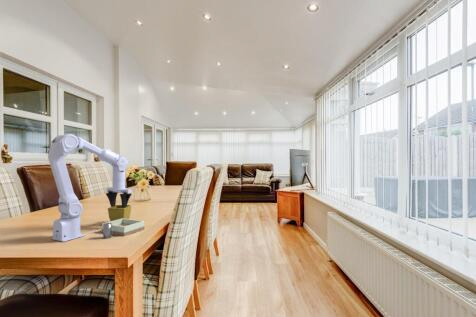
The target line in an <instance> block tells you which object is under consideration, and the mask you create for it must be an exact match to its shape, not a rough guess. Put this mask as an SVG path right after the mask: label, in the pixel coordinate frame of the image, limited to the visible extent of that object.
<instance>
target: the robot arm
mask: <svg viewBox="0 0 476 317" xmlns="http://www.w3.org/2000/svg"><path fill="white" fill-rule="evenodd" d="M50 144H51V145H50V147H49V150H48V153H47V154H48V155H47V159H48V162H49V164H50V165H49V166H50V168H51V172H52V175H53V178H54V182H55V185H56V188H57V192H58V195H59V198H58V207H57V209H58V212H59V213H60V217H59V218H57V219H56V220H54V221H53V224H52V237H51V240H54V241H57V242H62V243H63V242H68V241H70V240H75V239H79V238H81V237H85V236H86V235H85V234H83V233H81V214H82V213H83V210H84V207H83V204H82V203H81V202H80V201H79V198H78V197H77V195H76V194H75V192H74V187H73V185H72V182H71V178H70V175H69V174H70V173H69V170H68V167H67V163H66V160H65V158H66V156H67V155H68V154H69V153H70V152H72V151H74V150H75V149H81V150H85V151H87V152H89V153H91V154H94V155H96V156H97V158H98V159H99V160H101V161H103V162H105V163H107V164H110V165H111V167H112V187H107V188H106V192H105V195H106V197H107V199H108V202H109V204H110V205H109V206H110V207H114V206H115V205H117V204H116V203H117V197H118V193H119V196H120V199H121V205H122V208H126V207H127V205H128V204H129V200H130V198H131V197H132V196H133V194H132V189H131V188H126V167H127V166H128V164H129V161H128V159H127V158H126V156H123V155H119V153H118V152H114V151H112V150H111V148H109V147H108V148H105V147H103V148H100V147H98V146H96V145H94V144H92V143H91V142H89V141H87V140H85V139H83V138H82V137H80V136H76V135H74V134H71V133H68V134H60V135H56V136H55V137H54V138H53V139H52V140H51V142H50Z"/></svg>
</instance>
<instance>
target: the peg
mask: <svg viewBox="0 0 476 317" xmlns="http://www.w3.org/2000/svg"><path fill="white" fill-rule="evenodd" d="M103 223H104V224H103V232H102V233H103V234H102V237H103V240H104V239H105V240H106V239H111V238H112V235H113V234H112V223H106V222H103Z"/></svg>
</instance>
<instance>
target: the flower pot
mask: <svg viewBox="0 0 476 317" xmlns="http://www.w3.org/2000/svg"><path fill="white" fill-rule="evenodd" d="M131 212H132V204H127V207H126V208H122V204H116V205H115V206H114V207H111V206H110V207H107V214H108V219H109V222H110V221H114V220H118V219H122V218H125V219H130V216H131Z"/></svg>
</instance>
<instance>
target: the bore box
mask: <svg viewBox="0 0 476 317" xmlns="http://www.w3.org/2000/svg"><path fill="white" fill-rule="evenodd" d="M104 223H112V235H115V236H121V237H126V236H129V235H132V234H135V233H138V232H140V231H141V232H142V231H144V230H145V220H138V219H134V218H133V219H131V218H129V219H125V218H122V219H118V220H114V221H110V220H109V221H107V222H103V223H101V233H103V224H104Z"/></svg>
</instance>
